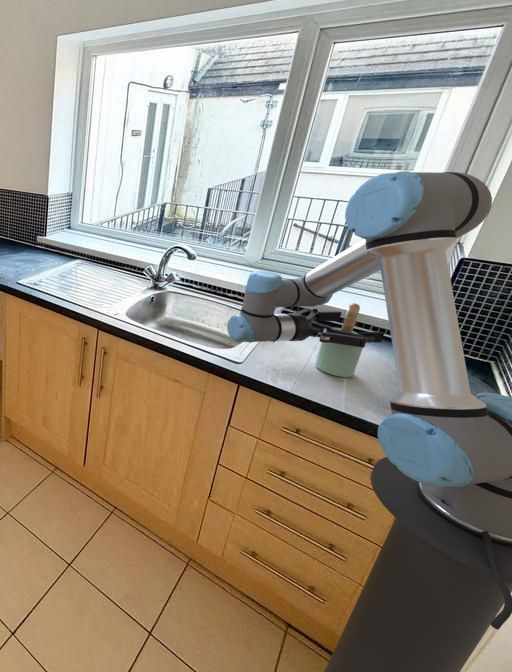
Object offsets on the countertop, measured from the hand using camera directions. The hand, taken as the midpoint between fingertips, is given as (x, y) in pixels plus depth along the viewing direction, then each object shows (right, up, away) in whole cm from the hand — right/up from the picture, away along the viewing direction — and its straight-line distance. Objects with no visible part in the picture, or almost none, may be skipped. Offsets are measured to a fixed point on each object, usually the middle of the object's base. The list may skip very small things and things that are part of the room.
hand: (359, 326), depth 117 cm
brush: (-4, -12, +4) cm, 13 cm away
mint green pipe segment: (-4, -13, +5) cm, 14 cm away
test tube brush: (-6, -3, +30) cm, 30 cm away
